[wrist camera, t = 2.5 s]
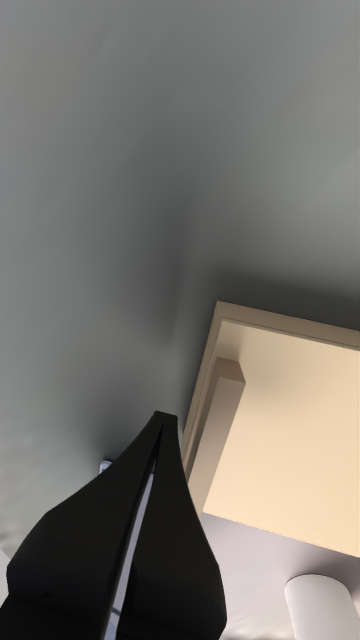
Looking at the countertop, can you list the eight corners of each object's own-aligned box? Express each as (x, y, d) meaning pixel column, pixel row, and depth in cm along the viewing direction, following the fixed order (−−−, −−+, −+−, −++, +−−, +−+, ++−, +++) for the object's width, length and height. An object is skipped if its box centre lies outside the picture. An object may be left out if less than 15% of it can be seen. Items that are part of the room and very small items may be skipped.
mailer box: (347, 479, 19) (395, 553, 14) (182, 435, 20) (175, 489, 15) (431, 346, 15) (539, 386, 10) (217, 300, 16) (221, 316, 11)
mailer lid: (399, 559, 14) (442, 624, 11) (174, 493, 15) (168, 540, 12) (549, 390, 10) (669, 434, 7) (221, 317, 11) (226, 334, 8)
